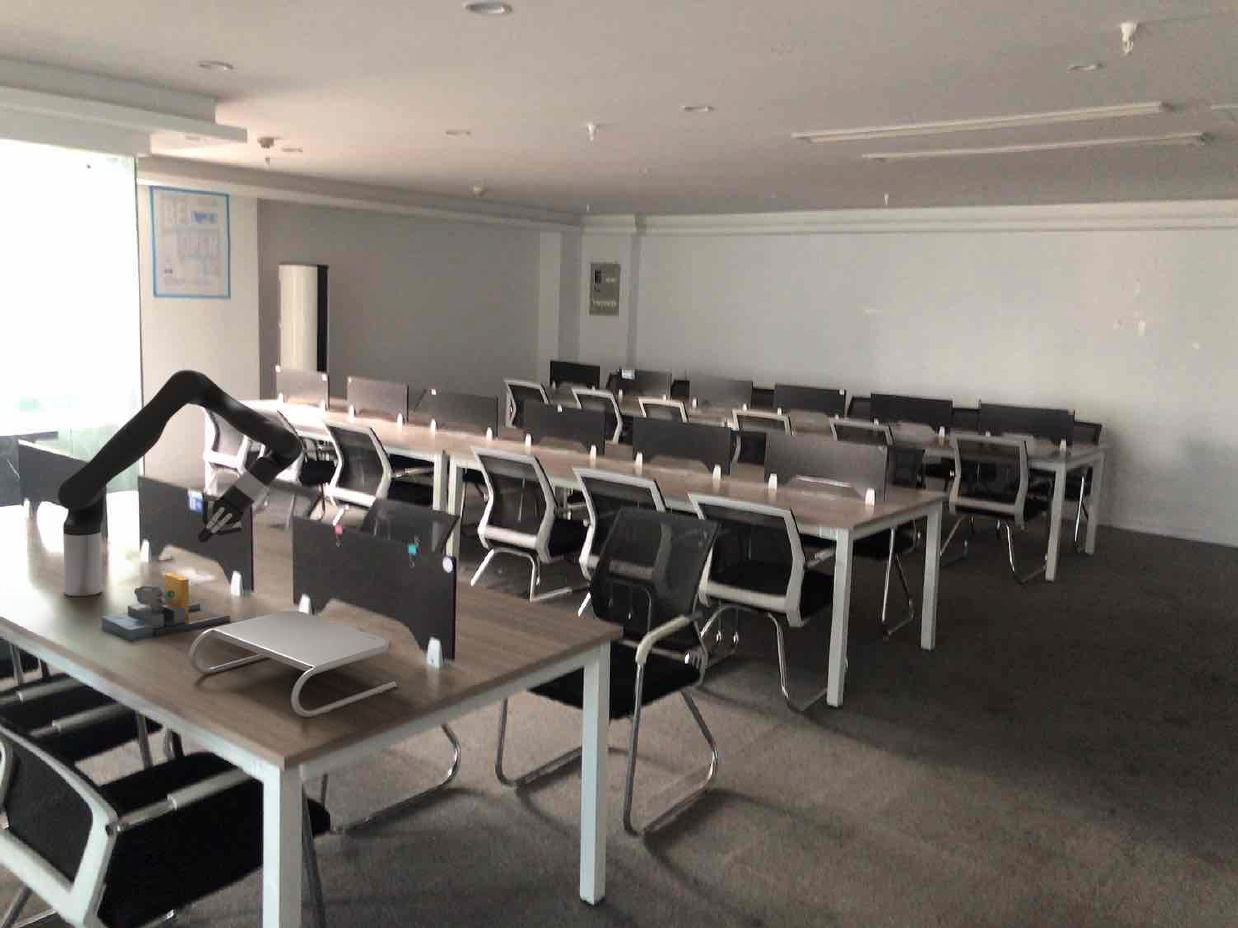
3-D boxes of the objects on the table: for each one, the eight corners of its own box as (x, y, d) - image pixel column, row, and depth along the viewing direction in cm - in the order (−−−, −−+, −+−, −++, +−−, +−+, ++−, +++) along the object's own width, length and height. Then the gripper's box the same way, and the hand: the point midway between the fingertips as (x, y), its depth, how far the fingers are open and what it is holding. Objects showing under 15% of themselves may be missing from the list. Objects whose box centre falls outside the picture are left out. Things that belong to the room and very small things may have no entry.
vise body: (100, 627, 250) (100, 608, 249) (197, 607, 270) (197, 590, 270) (131, 642, 240) (131, 622, 240) (229, 620, 261) (229, 602, 260)
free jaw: (149, 619, 258) (149, 574, 256) (168, 615, 262) (168, 571, 260) (174, 629, 251) (173, 583, 249) (192, 625, 255) (192, 580, 253)
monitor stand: (398, 688, 223) (399, 642, 221) (294, 725, 200) (294, 674, 198) (292, 649, 243) (293, 607, 242) (187, 679, 220) (187, 633, 219)
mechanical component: (172, 629, 251) (168, 592, 249) (137, 626, 253) (132, 589, 251) (180, 624, 254) (175, 588, 252) (144, 621, 256) (139, 585, 254)
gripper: (265, 506, 273) (220, 555, 269) (225, 475, 270) (180, 524, 266) (264, 507, 266) (219, 557, 262) (224, 475, 263) (177, 526, 259)
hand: (199, 541), depth 264 cm, fingers closed
